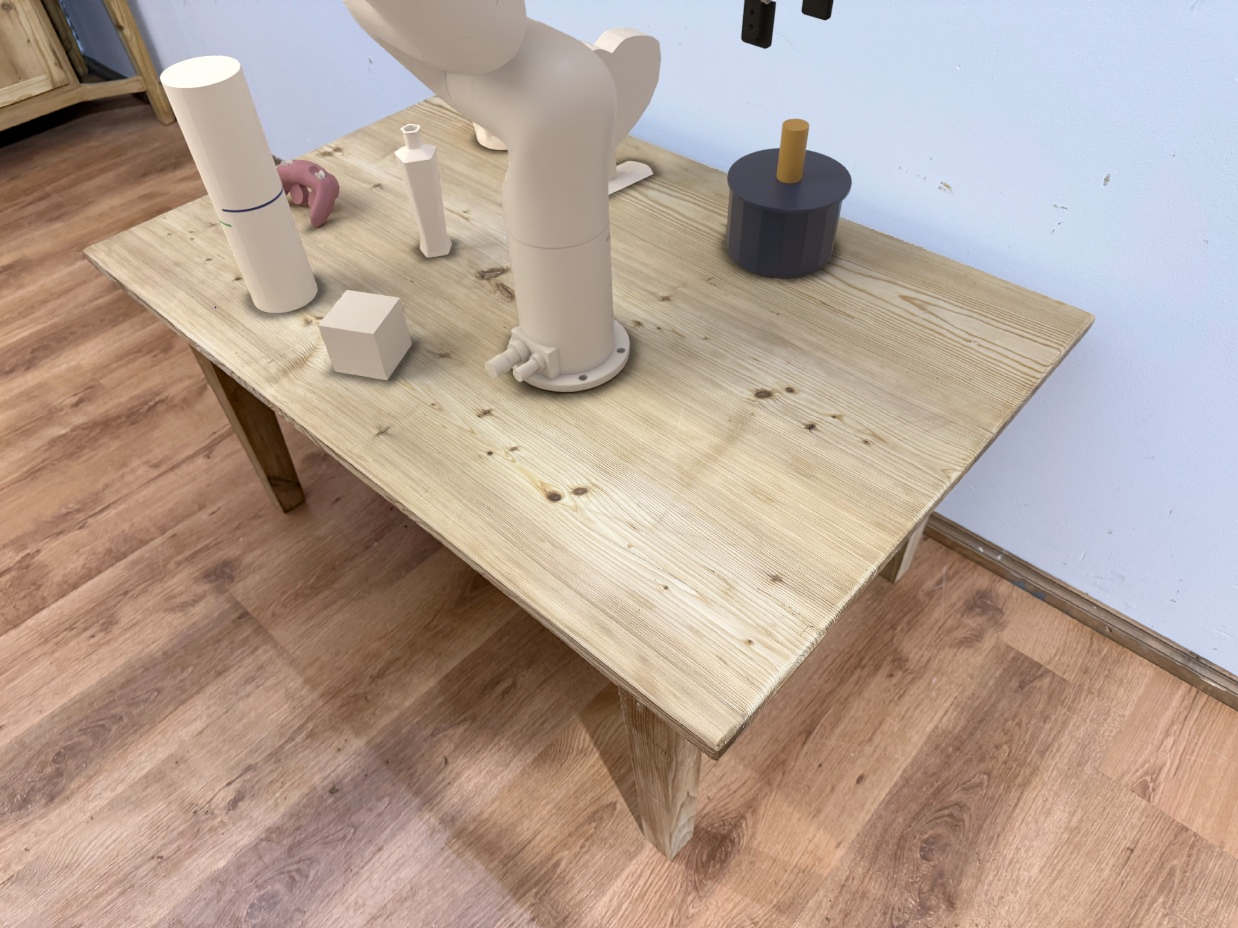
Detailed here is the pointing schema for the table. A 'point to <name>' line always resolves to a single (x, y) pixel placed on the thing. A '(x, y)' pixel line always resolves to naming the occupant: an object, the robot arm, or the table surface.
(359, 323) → the white cube
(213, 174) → the cylindrical container
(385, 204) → the table surface
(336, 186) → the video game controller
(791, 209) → the lid
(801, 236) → the tin
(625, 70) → the heart sculpture
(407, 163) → the perfume bottle
